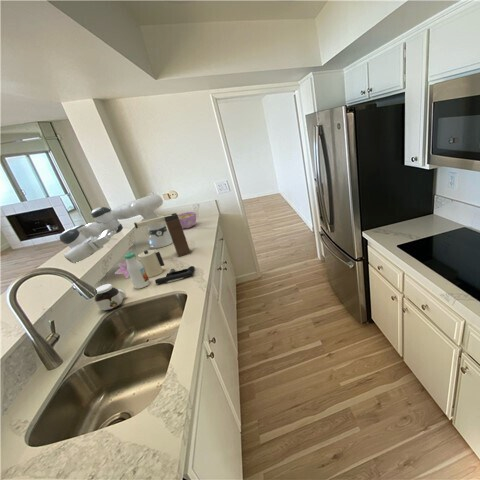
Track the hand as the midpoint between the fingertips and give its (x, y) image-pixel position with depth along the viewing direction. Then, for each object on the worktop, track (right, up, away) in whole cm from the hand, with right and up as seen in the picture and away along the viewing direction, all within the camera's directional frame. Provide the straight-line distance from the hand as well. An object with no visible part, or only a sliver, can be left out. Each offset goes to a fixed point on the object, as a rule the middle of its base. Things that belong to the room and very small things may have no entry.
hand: (116, 229), depth 165 cm
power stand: (+29, -16, +25) cm, 42 cm away
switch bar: (+18, +5, +10) cm, 21 cm away
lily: (+8, -29, +2) cm, 30 cm away
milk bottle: (+25, -33, -13) cm, 43 cm away
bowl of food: (+3, +6, +83) cm, 83 cm away
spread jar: (+21, -40, -28) cm, 53 cm away
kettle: (+24, -27, 0) cm, 36 cm away
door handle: (+41, -28, -6) cm, 50 cm away
